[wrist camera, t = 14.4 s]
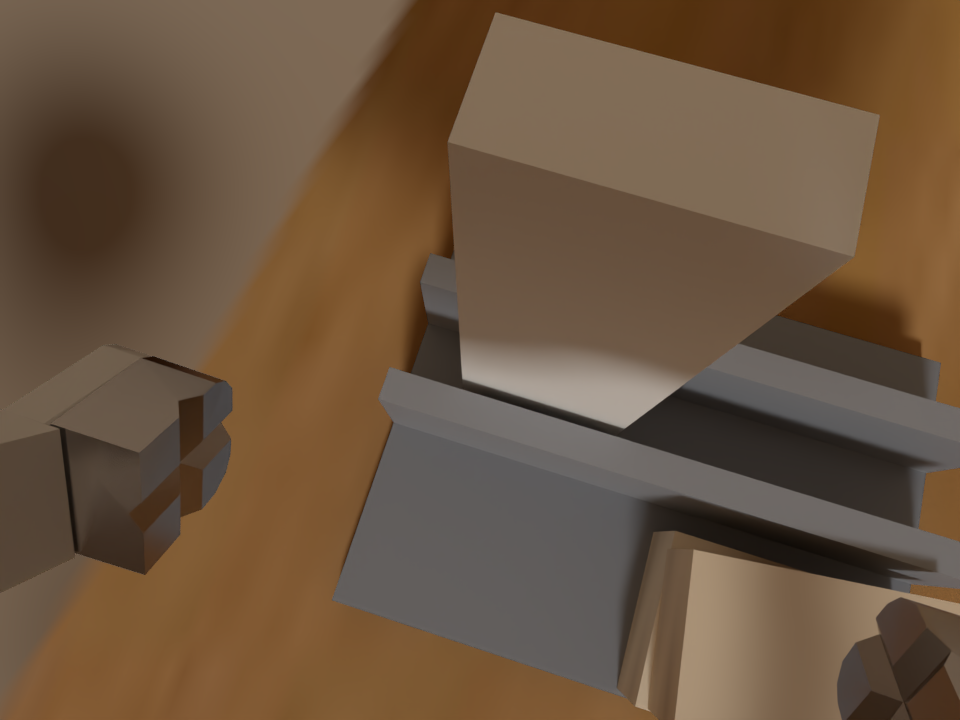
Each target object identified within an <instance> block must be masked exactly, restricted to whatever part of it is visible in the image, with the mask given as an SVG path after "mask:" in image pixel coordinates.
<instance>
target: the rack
mask: <svg viewBox="0 0 960 720" xmlns="http://www.w3.org/2000/svg"><path fill="white" fill-rule="evenodd" d="M420 284H421V289H422V294H423V299H424V304H425V309H426V314H427V319H428V326H427V329H426V331H425V334H424V337H423V340H422V343H421V346H420V349H419V352H418V354H417V357H416V360H415V363H414V366H413V369H412V372H411V374H410V373H407V372H404V371H401V370H397V369H394V368H391V367H390V368H389V370H388V373H387V376H386V379H385V382H384V384H383V387H382V390H381V393H380V396H379V398H378V399H379V401H380V402H381V404H382V405H383V407H384V408H385V410H386V412H387V413H388V415H389V416H390V418H391V419H392V421H393V422H394V423H393V426H392V429H391V432H390V435H389V438H388V441H387V443H386V446H385V449H384V452H383V455H382V458H381V461H380V464H379V466H378V469H377V472H376V475H375V478H374V481H373V484H372V487H371V489H370V492H369V495H368V498H367V501H366V504H365V507H364V509H363V512H362V515H361V518H360V521H359V524H358V527H357V530H356V532H355V535H354V538H353V541H352V544H351V547H350V550H349V553H348V555H347V558H346V561H345V564H344V567H343V570H342V573H341V576H340V578H339V581H338V584H337V587H336V590H335V593H334V596H333V599H332V600H333V601H336V602H339V603H342V604H345V605H348V606H351V607H354V608H357V609H360V610H363V611H366V612H369V613H372V614H375V615H378V616H381V617H384V618H387V619H390V620H393V621H396V622H399V623H402V624H405V625H408V626H411V627H414V628H417V629H420V630H423V631H426V632H429V633H432V634H435V635H438V636H441V637H444V638H447V639H450V640H453V641H456V642H459V643H462V644H465V645H468V646H471V647H474V648H477V649H480V650H483V651H486V652H489V653H492V654H495V655H498V656H501V657H504V658H507V659H510V660H513V661H516V662H519V663H522V664H525V665H528V666H531V667H534V668H537V669H540V670H543V671H546V672H549V673H552V674H555V675H558V676H561V677H564V678H567V679H570V680H573V681H576V682H579V683H582V684H585V685H588V686H591V687H594V688H597V689H600V690H603V691H606V692H609V693H612V694H615V695H618V696H621V697H624V698H626V697H625V696H624V695H623V694H622V693H621V692H620V691H619V690H618V689H617V685H618V681H619V676H620V672H621V668H622V664H623V659H624V655H625V651H626V647H627V642H628V638H629V634H630V630H631V625H632V621H633V617H634V613H635V608H636V604H637V600H638V596H639V591H640V587H641V583H642V579H643V575H644V570H645V566H646V562H647V558H648V553H649V549H650V545H651V541H652V536H653V532H661V531H678V532H681V533H684V534H687V535H690V536H694V537H697V538H700V539H703V540H706V541H710V542H713V543H716V544H719V545H722V546H725V547H729V548H732V549H735V550H738V551H741V552H745V553H748V554H751V555H754V556H757V557H760V558H764V559H767V560H770V561H773V562H776V563H780V564H783V565H786V566H789V567H792V568H795V569H799V570H802V571H805V572H808V573H811V574H816V575H821V576H826V577H831V578H836V579H841V580H845V581H850V582H855V583H860V584H865V585H870V586H875V587H880V588H885V589H890V590H894V591H899V592H904V593H909V594H910V587H911V584H916V585H926V586H937V587H947V588H958V589H960V542H958V541H955V540H952V539H949V538H945V537H942V536H939V535H936V534H932V533H929V532H926V531H923V530H919V529H918V528H919V520H920V513H921V505H922V498H923V491H924V483H925V476H926V473H929V472H935V471H942V470H948V469H955V468H960V408H956V407H953V406H950V405H946V404H943V403H939V402H936V395H937V387H938V380H939V373H940V365H941V363H939V362H936V361H933V360H929V359H926V358H922V357H919V356H915V355H912V354H908V353H905V352H901V351H898V350H894V349H891V348H888V347H884V346H881V345H877V344H874V343H870V342H867V341H863V340H860V339H856V338H853V337H850V336H846V335H843V334H839V333H836V332H832V331H829V330H825V329H822V328H818V327H815V326H812V325H808V324H805V323H801V322H798V321H794V320H791V319H787V318H784V317H780V316H777V315H776V316H775V317H773V318H772V319H771V320H769V321H768V322H767V323H765V324H764V325H763V326H761V327H760V328H759V329H757V330H756V331H755V332H753V333H752V334H751V335H749V336H748V337H747V338H745V339H744V340H743V341H741V342H740V343H739V344H737V345H736V346H735V347H733V348H732V349H731V350H729V351H728V352H727V353H725V354H724V355H723V356H721V357H720V358H719V359H717V360H716V361H715V362H713V363H712V364H711V365H709V366H708V367H707V368H705V369H704V370H702V371H701V372H700V373H698V374H697V375H696V376H694V377H693V378H692V379H690V380H689V381H688V382H686V383H685V384H684V385H682V386H681V387H680V388H678V389H677V390H676V391H674V392H673V393H672V394H670V395H669V396H668V397H666V398H665V399H664V400H662V401H661V402H660V403H658V404H657V405H656V406H654V407H653V408H652V409H650V410H649V411H648V412H646V413H645V414H644V415H642V416H641V417H640V418H638V419H637V420H636V421H634V422H633V423H632V424H630V425H629V426H628V427H626V428H625V429H624V430H622V431H621V432H620V433H618V434H617V435H616V436H613V435H609V434H606V433H603V432H600V431H596V430H593V429H590V428H587V427H583V426H580V425H577V424H574V423H570V422H567V421H564V420H560V419H557V418H554V417H551V416H547V415H544V414H541V413H538V412H534V411H531V410H528V409H525V408H521V407H518V406H515V405H512V404H508V403H505V402H502V401H498V400H495V399H492V398H489V397H485V396H482V395H479V394H476V393H472V392H469V391H466V390H463V383H462V367H461V350H460V334H459V318H458V302H457V286H456V270H455V254H454V251H453V254H452V257H451V259H448V258H445V257H442V256H438V255H435V254H431V253H430V256H429V259H428V261H427V264H426V267H425V270H424V273H423V275H422V278H421V281H420Z"/></svg>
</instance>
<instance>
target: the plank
mask: <svg viewBox="0 0 960 720" xmlns="http://www.w3.org/2000/svg"><path fill="white" fill-rule="evenodd" d="M879 117H880V115H878V114H874V113H870V112H867V111H863V110H859V109H855V108H852V107H848V106H844V105H840V104H837V103H833V102H829V101H825V100H822V99H818V98H814V97H811V96H807V95H803V94H799V93H796V92H792V91H788V90H784V89H781V88H777V87H773V86H769V85H766V84H762V83H758V82H754V81H751V80H747V79H743V78H740V77H736V76H732V75H728V74H725V73H721V72H717V71H713V70H710V69H706V68H702V67H698V66H695V65H691V64H687V63H683V62H680V61H676V60H672V59H669V58H665V57H661V56H657V55H654V54H650V53H646V52H642V51H639V50H635V49H631V48H627V47H624V46H620V45H616V44H612V43H609V42H605V41H601V40H598V39H594V38H590V37H586V36H583V35H579V34H575V33H571V32H568V31H564V30H560V29H556V28H553V27H549V26H545V25H541V24H538V23H534V22H530V21H526V20H523V19H519V18H515V17H512V16H508V15H504V14H500V13H497V12H495V15H494V18H493V20H492V23H491V26H490V29H489V31H488V34H487V37H486V39H485V42H484V45H483V48H482V50H481V53H480V56H479V58H478V61H477V64H476V66H475V69H474V72H473V75H472V77H471V80H470V83H469V85H468V88H467V91H466V93H465V96H464V99H463V102H462V104H461V107H460V110H459V112H458V115H457V118H456V121H455V123H454V126H453V129H452V131H451V134H450V137H449V139H448V157H449V173H450V189H451V205H452V221H453V238H454V254H455V270H456V286H457V302H458V318H459V334H460V350H461V367H462V383H463V390H466V391H469V392H472V393H476V394H479V395H482V396H485V397H489V398H492V399H495V400H498V401H502V402H505V403H508V404H512V405H515V406H518V407H521V408H525V409H528V410H531V411H534V412H538V413H541V414H544V415H547V416H551V417H554V418H557V419H560V420H564V421H567V422H570V423H574V424H577V425H580V426H583V427H587V428H590V429H593V430H596V431H600V432H603V433H606V434H609V435H613V436H616V435H617V434H618V433H620V432H621V431H622V430H624V429H625V428H626V427H628V426H629V425H630V424H632V423H633V422H634V421H636V420H637V419H638V418H640V417H641V416H642V415H644V414H645V413H646V412H648V411H649V410H650V409H652V408H653V407H654V406H656V405H657V404H658V403H660V402H661V401H662V400H664V399H665V398H666V397H668V396H669V395H670V394H672V393H673V392H674V391H676V390H677V389H678V388H680V387H681V386H682V385H684V384H685V383H686V382H688V381H689V380H690V379H692V378H693V377H694V376H696V375H697V374H698V373H700V372H701V371H702V370H704V369H705V368H707V367H708V366H709V365H711V364H712V363H713V362H715V361H716V360H717V359H719V358H720V357H721V356H723V355H724V354H725V353H727V352H728V351H729V350H731V349H732V348H733V347H735V346H736V345H737V344H739V343H740V342H741V341H743V340H744V339H745V338H747V337H748V336H749V335H751V334H752V333H753V332H755V331H756V330H757V329H759V328H760V327H761V326H763V325H764V324H765V323H767V322H768V321H769V320H771V319H772V318H773V317H775V316H776V315H777V314H779V313H780V312H781V311H783V310H784V309H785V308H787V307H788V306H789V305H791V304H792V303H793V302H795V301H796V300H797V299H799V298H800V297H801V296H803V295H804V294H805V293H807V292H808V291H809V290H811V289H812V288H813V287H815V286H816V285H817V284H819V283H820V282H821V281H823V280H824V279H825V278H827V277H828V276H829V275H831V274H832V273H833V272H835V271H836V270H837V269H839V268H840V267H841V266H843V265H844V264H845V263H847V262H848V261H849V260H851V259H852V258H853V257H854V256H855V250H856V245H857V239H858V234H859V228H860V223H861V217H862V211H863V206H864V200H865V195H866V189H867V184H868V178H869V172H870V167H871V161H872V156H873V150H874V145H875V139H876V134H877V128H878V122H879Z"/></svg>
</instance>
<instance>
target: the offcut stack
mask: <svg viewBox="0 0 960 720" xmlns="http://www.w3.org/2000/svg"><path fill="white" fill-rule="evenodd" d="M900 597H902V598H906V599H909V600H912V601H915V602H918V603H922V604H925V605H928V606H931V607H934V608H938V609H941V610H944V611H947V612H950V613H954V614H957V615H960V604H958V603H953V602H948V601H943V600H939V599H934V598H929V597H924V596H919V595H914V594H909V593H904V592H899V591H894V590H890V589H885V588H880V587H875V586H870V585H865V584H860V583H855V582H850V581H845V580H841V579H836V578H831V577H826V576H821V575H816V574H811V573H808V572H805V571H802V570H799V569H795V568H792V567H789V566H786V565H783V564H780V563H776V562H773V561H770V560H767V559H764V558H760V557H757V556H754V555H751V554H748V553H745V552H741V551H738V550H735V549H732V548H729V547H725V546H722V545H719V544H716V543H713V542H710V541H706V540H703V539H700V538H697V537H694V536H690V535H687V534H684V533H681V532H678V531H661V532H653V536H652V541H651V545H650V549H649V553H648V558H647V562H646V566H645V570H644V575H643V579H642V583H641V587H640V591H639V596H638V600H637V604H636V608H635V613H634V617H633V621H632V625H631V630H630V634H629V638H628V642H627V647H626V651H625V655H624V659H623V664H622V668H621V672H620V676H619V681H618V685H617V689H618V690H619V691H620V692H621V693H622V694H623V695H624V696H625V697H626V698H627V699H628V700H629V701H630V702H631V703H632V704H633V705H634V706H635V707H638V708H641V709H644V710H647V711H650V712H652V713H653V714H654V715H655V716H656V717H657V718H658V719H659V720H842V718H841V714H840V710H839V706H838V701H837V681H838V677H839V673H840V669H841V665H842V661H843V660H844V658H845V657H846V655H847V654H848V653H849V651H850V650H851V648H852V647H853V646H854V644H855V643H856V642H858V641H861V640H864V639H867V638H870V637H873V636H875V635H878V634H879V632H878V627H877V622H876V617H877V615H878V614H879V613H880V612H881V611H882V609H883V608H884V607H885V606H886V605H887V603H889V602H892V601H894V600H896V599H898V598H900Z"/></svg>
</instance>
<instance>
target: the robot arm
mask: <svg viewBox="0 0 960 720" xmlns="http://www.w3.org/2000/svg"><path fill="white" fill-rule="evenodd" d="M231 411H232V388H231V386H230V385H229V384H228V383H227V382H226V381H224V380H221V379H218V378H215V377H213V376H210V375H207V374H204V373H201V372H198V371H195V370H192V369H189V368H186V367H183V366H181V365H178V364H175V363H172V362H169V361H166V360H163V359H160V358H157V357H154V356H152V357H151V356H149V355H147V354H144V353H141V352H138V351H135V350H132V349H129V348H126V347H123V346H120V345H117V344H114V345H113V344H112V345H103V346H101V347H100V348H98V349H96V350H95V351H93V352H92V353H90V354H89V355H87V356H86V357H84V358H83V359H81V360H80V361H78V362H76V363H75V364H73V365H72V366H70V367H69V368H67V369H66V370H64V371H62V372H61V373H59V374H58V375H56V376H54V377H53V378H51V379H50V380H48V381H47V382H45V383H44V384H42V385H41V386H39V387H37V388H36V389H34V390H33V391H31V392H30V393H28V394H27V395H25V396H23V397H22V398H20V399H19V400H17V401H16V402H14V403H13V404H11V405H9V406H8V407H6V408H5V409H3V410H2V409H0V593H1V592H4V591H6V590H8V589H10V588H12V587H14V586H16V585H18V584H20V583H22V582H25V581H26V580H28V579H31V578H33V577H35V576H37V575H39V574H41V573H43V572H45V571H48V570H50V569H52V568H54V567H56V566H58V565H60V564H62V563H64V562H67V561H69V560H70V559H73V558H75V553H76V554H80V555H83V556H86V557H89V558H92V559H95V560H99V561H102V562H105V563H108V564H111V565H115V566H118V567H121V568H124V569H127V570H131V571H134V572H137V573H140V574H143V575H146V574H147V572H148V571H149V570H150V569H151V568H152V567H153V565H154V564H155V563H156V562H157V561H158V560H159V559H160V557H161V556H162V555H163V554H164V553H165V552H166V550H167V549H168V548H169V547H170V546H171V545H172V543H173V542H174V541H175V540H176V539H177V538H178V537H179V535H180V517H183V516H185V515H188V514H191V513H193V512H196V511H199V510H201V509H202V508H203V507H204V506H205V505H206V504H207V502H208V501H209V500H210V499H211V497H212V496H213V495H214V494H215V492H216V490H217V488H218V486H219V484H220V482H221V480H222V478H223V477H224V475H225V473H226V469H227V465H228V461H229V457H230V449H231V438H230V436H229V435H228V433H227V431H226V430H225V428H224V426H223V425H222V423H221V422H222V421H223V420H224V419H225V417H226V416H227V415H228V414H229V413H230V412H231ZM876 622H877V627H878V632H879V634H878V635H875V636H873V637H870V638H867V639H864V640H861V641H858V642H856V643H855V644H854V646H853V647H852V648H851V650H850V651H849V653H848V654H847V655H846V657H845V658H844V660H843V661H842V665H841V669H840V673H839V677H838V681H837V701H838V706H839V710H840V714H841V718H842V720H960V615H957V614H954V613H950V612H947V611H944V610H941V609H938V608H934V607H931V606H928V605H925V604H922V603H918V602H915V601H912V600H909V599H906V598H902V597H900V598H898V599H896V600H894V601H892V602H889V603H887V605H886V606H885V607H884V608H883V609H882V611H881V612H880V613H879V614H878V615H877V617H876Z"/></svg>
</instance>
